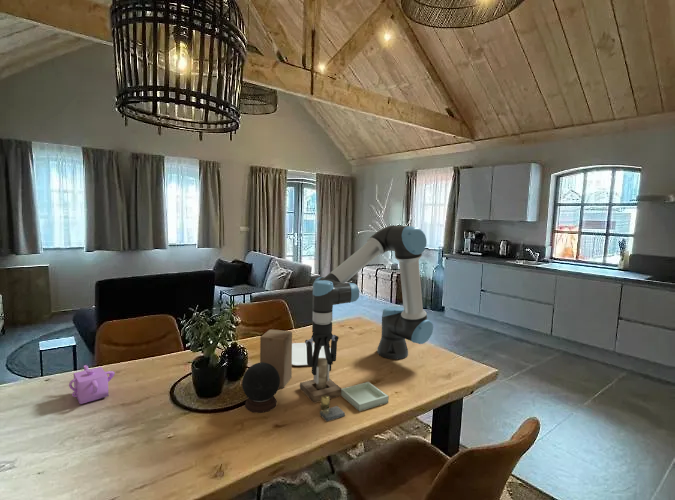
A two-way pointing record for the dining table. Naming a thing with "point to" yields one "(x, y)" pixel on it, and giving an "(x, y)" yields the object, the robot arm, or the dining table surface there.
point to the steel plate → (332, 413)
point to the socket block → (315, 395)
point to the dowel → (322, 373)
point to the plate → (303, 354)
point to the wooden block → (278, 353)
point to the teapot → (90, 384)
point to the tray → (364, 396)
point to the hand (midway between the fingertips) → (321, 380)
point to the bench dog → (325, 402)
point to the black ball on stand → (261, 387)
